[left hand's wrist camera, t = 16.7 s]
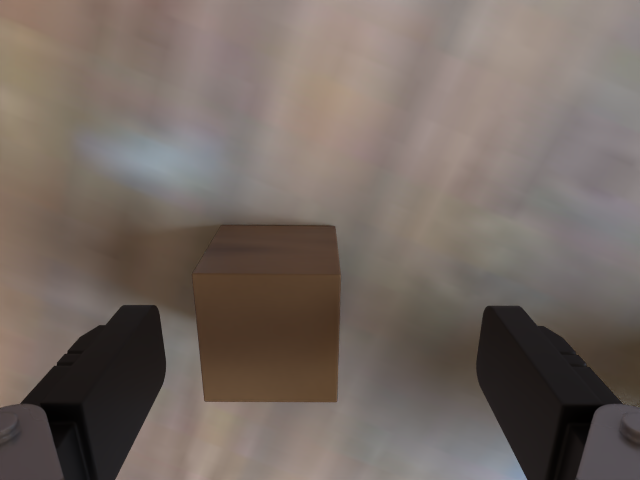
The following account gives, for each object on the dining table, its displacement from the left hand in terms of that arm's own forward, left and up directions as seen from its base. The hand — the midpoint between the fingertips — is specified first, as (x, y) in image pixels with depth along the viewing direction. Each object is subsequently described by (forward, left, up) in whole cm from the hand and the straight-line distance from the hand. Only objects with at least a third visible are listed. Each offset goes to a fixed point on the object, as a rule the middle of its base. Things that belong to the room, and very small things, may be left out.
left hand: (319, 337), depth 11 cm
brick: (-1, -3, -8) cm, 8 cm away
